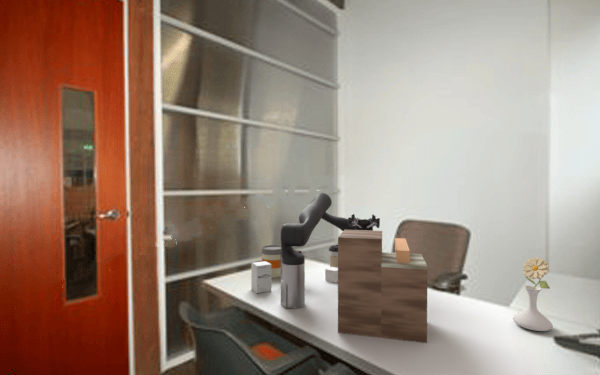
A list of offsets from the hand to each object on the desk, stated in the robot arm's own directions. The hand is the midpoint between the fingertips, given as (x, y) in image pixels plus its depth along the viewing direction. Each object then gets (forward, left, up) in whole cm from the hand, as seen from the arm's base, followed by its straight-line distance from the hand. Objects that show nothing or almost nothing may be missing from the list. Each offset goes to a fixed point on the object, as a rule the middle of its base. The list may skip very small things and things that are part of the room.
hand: (363, 216), depth 149 cm
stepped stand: (-11, -31, -35) cm, 48 cm away
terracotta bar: (-2, -30, -11) cm, 32 cm away
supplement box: (-41, +21, -35) cm, 58 cm away
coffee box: (-25, +25, -35) cm, 50 cm away
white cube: (-3, +23, -35) cm, 43 cm away
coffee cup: (+5, +35, -35) cm, 50 cm away
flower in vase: (+37, -51, -35) cm, 72 cm away
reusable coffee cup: (-29, +43, -35) cm, 63 cm away
